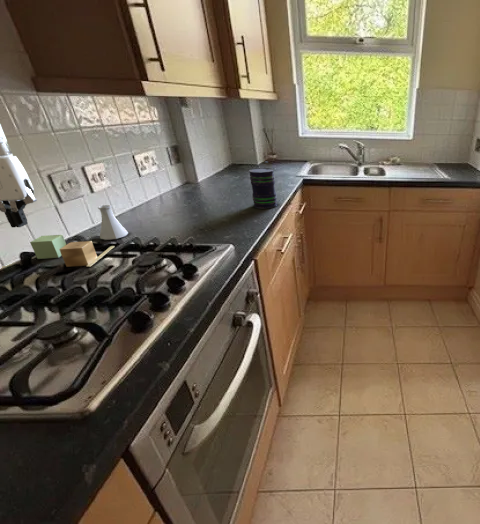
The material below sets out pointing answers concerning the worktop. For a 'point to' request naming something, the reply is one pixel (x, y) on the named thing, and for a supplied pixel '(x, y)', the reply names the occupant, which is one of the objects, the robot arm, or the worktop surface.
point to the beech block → (78, 253)
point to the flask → (110, 224)
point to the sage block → (48, 246)
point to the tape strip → (100, 256)
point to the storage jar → (263, 187)
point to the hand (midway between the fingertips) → (19, 225)
